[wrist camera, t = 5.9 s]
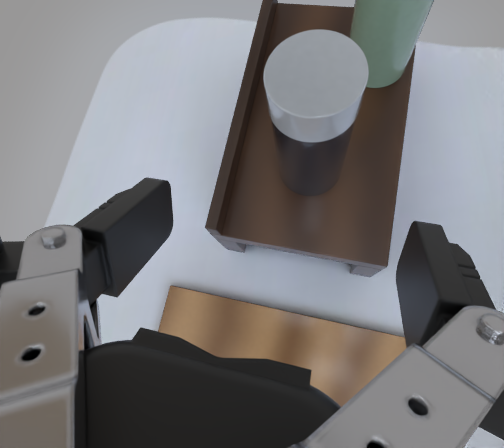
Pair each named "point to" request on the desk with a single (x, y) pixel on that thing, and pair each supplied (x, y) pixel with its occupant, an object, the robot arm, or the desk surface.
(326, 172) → the pepper shaker
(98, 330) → the robot arm
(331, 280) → the desk surface
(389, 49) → the salt shaker
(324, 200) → the walnut shelf
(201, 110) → the desk surface
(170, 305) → the wooden board
